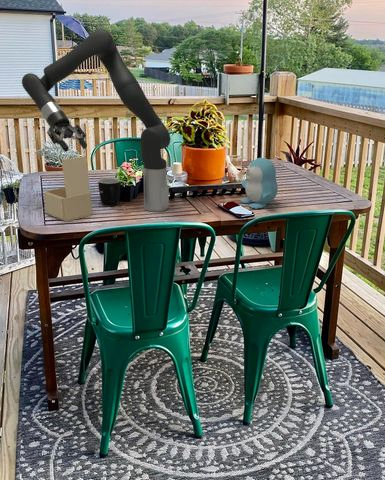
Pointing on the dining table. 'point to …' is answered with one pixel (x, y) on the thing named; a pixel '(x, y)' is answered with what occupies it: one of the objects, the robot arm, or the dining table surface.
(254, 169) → the toy
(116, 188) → the mug
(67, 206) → the carton
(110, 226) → the dining table surface
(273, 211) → the dining table surface
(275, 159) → the dining table surface
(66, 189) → the front flap
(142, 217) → the dining table surface
